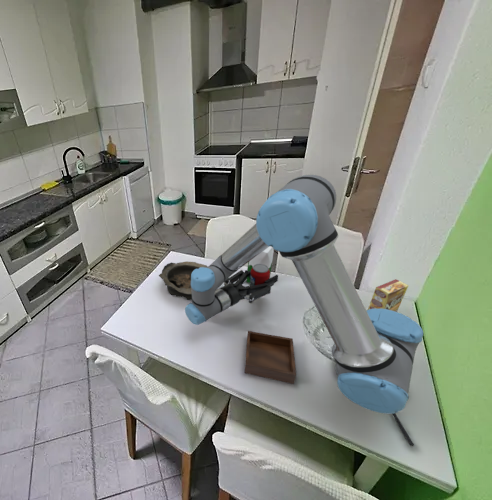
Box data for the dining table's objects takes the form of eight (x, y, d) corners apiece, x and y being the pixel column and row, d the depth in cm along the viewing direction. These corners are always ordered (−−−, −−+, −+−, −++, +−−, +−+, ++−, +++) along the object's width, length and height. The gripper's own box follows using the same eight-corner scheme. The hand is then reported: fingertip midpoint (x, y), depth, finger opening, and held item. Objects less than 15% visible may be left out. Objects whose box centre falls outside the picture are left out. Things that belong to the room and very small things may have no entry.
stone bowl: (150, 294, 123) (148, 277, 119) (181, 269, 139) (181, 253, 135) (199, 315, 108) (199, 296, 104) (227, 285, 124) (229, 267, 120)
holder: (293, 384, 81) (296, 375, 79) (244, 373, 86) (245, 364, 84) (290, 347, 91) (292, 338, 89) (246, 339, 96) (247, 330, 94)
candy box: (374, 329, 93) (389, 294, 85) (362, 320, 97) (375, 286, 89) (393, 320, 95) (410, 285, 87) (380, 312, 99) (395, 278, 91)
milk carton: (252, 272, 127) (255, 234, 117) (272, 279, 122) (277, 239, 111) (243, 282, 122) (246, 243, 112) (264, 289, 116) (269, 249, 106)
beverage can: (251, 285, 114) (253, 261, 108) (268, 289, 110) (271, 264, 104) (247, 295, 109) (249, 271, 103) (266, 299, 106) (269, 274, 99)
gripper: (206, 291, 109) (248, 270, 118) (245, 321, 94) (290, 293, 102) (206, 276, 105) (249, 255, 114) (246, 304, 90) (293, 277, 98)
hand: (268, 273), depth 108 cm, fingers closed on beverage can, 7 cm apart
